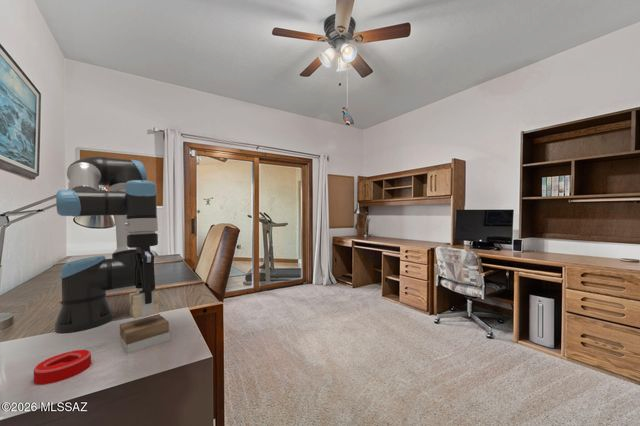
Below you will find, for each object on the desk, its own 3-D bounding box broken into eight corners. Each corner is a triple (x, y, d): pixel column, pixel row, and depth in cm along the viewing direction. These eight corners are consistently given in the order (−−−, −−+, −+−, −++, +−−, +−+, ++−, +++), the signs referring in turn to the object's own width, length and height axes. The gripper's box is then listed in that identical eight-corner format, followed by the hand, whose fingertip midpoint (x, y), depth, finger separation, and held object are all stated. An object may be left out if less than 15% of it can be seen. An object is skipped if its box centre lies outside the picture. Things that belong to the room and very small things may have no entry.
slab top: (120, 334, 75) (119, 324, 75) (159, 323, 82) (159, 314, 82) (126, 344, 68) (126, 333, 68) (168, 331, 75) (168, 321, 75)
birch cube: (129, 314, 75) (129, 293, 76) (153, 308, 80) (153, 289, 80) (134, 319, 71) (133, 297, 71) (159, 313, 75) (158, 292, 76)
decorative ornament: (87, 357, 68) (87, 345, 68) (94, 369, 62) (94, 356, 62) (32, 375, 61) (32, 361, 61) (34, 391, 54) (34, 376, 54)
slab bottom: (121, 344, 75) (120, 334, 75) (160, 332, 82) (160, 323, 82) (128, 356, 68) (127, 344, 68) (170, 342, 75) (169, 331, 75)
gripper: (121, 234, 80) (123, 309, 80) (134, 234, 67) (136, 324, 66) (149, 232, 86) (151, 302, 85) (166, 232, 72) (169, 315, 72)
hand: (145, 312), depth 76 cm, fingers closed on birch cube, 6 cm apart
